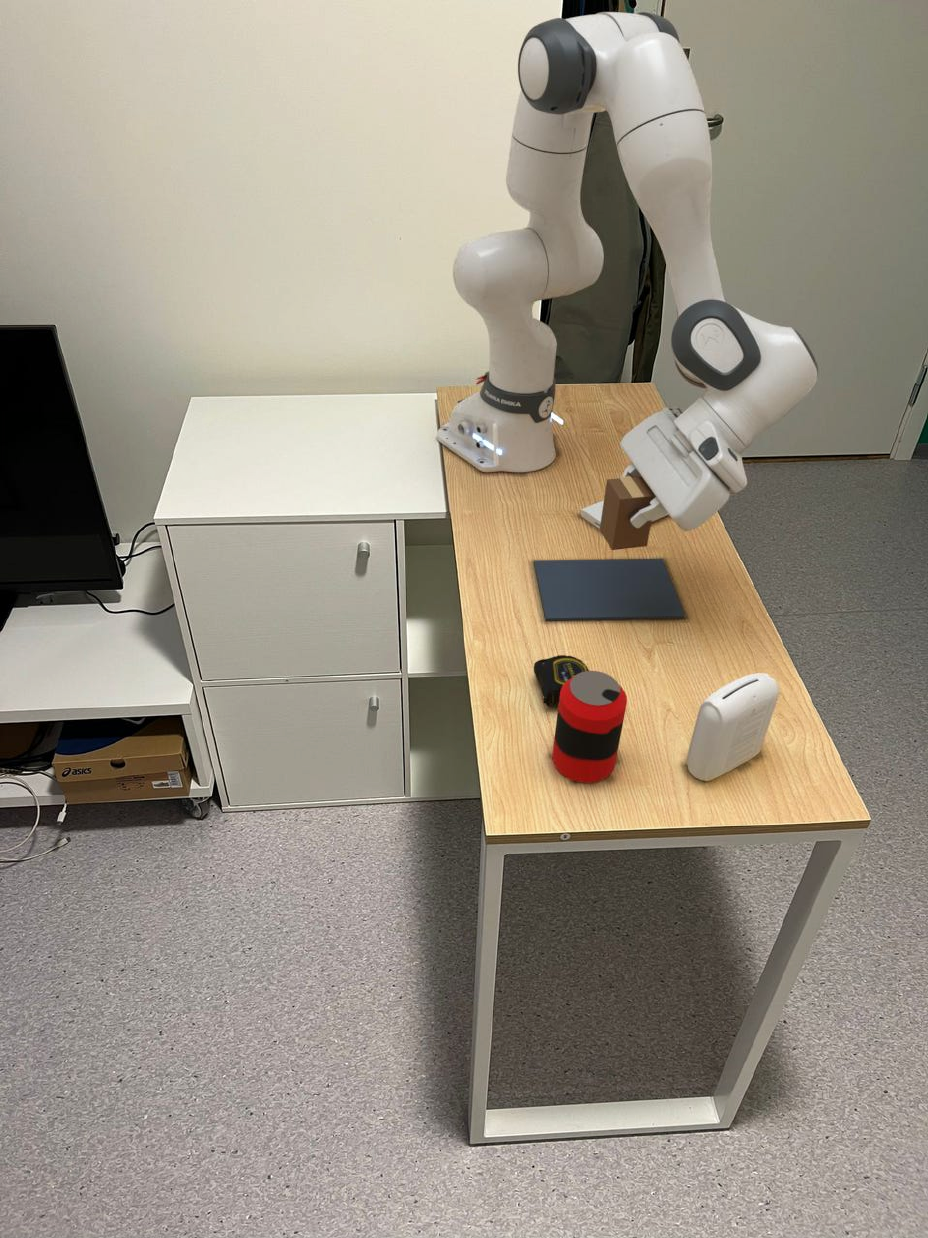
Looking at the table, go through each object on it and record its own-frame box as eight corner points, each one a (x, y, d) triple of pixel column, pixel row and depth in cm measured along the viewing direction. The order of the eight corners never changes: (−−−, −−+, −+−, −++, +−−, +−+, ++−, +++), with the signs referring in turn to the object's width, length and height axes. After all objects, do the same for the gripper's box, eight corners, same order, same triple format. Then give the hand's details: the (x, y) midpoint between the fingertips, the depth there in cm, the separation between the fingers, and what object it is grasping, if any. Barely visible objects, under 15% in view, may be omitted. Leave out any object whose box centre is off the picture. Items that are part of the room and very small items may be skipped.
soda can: (597, 794, 111) (610, 721, 104) (540, 767, 114) (549, 694, 107) (625, 754, 117) (639, 681, 109) (569, 729, 120) (580, 656, 112)
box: (599, 529, 132) (606, 478, 127) (633, 525, 133) (642, 474, 128) (612, 550, 128) (620, 498, 123) (647, 546, 129) (656, 495, 124)
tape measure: (531, 675, 127) (533, 654, 125) (581, 672, 128) (584, 650, 125) (541, 712, 122) (544, 690, 119) (594, 708, 123) (597, 686, 120)
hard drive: (669, 515, 158) (614, 539, 152) (634, 493, 163) (579, 516, 157) (670, 507, 157) (615, 531, 151) (635, 485, 162) (580, 507, 156)
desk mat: (545, 621, 136) (546, 618, 136) (533, 563, 147) (533, 560, 146) (684, 618, 137) (685, 615, 137) (662, 561, 148) (662, 558, 148)
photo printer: (739, 732, 120) (761, 657, 112) (765, 753, 117) (789, 679, 109) (678, 765, 115) (697, 689, 108) (704, 788, 113) (725, 712, 105)
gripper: (661, 387, 129) (584, 457, 133) (727, 464, 114) (637, 540, 118) (686, 414, 133) (610, 482, 137) (753, 492, 118) (665, 565, 122)
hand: (623, 509), depth 128 cm, fingers closed on box, 5 cm apart
